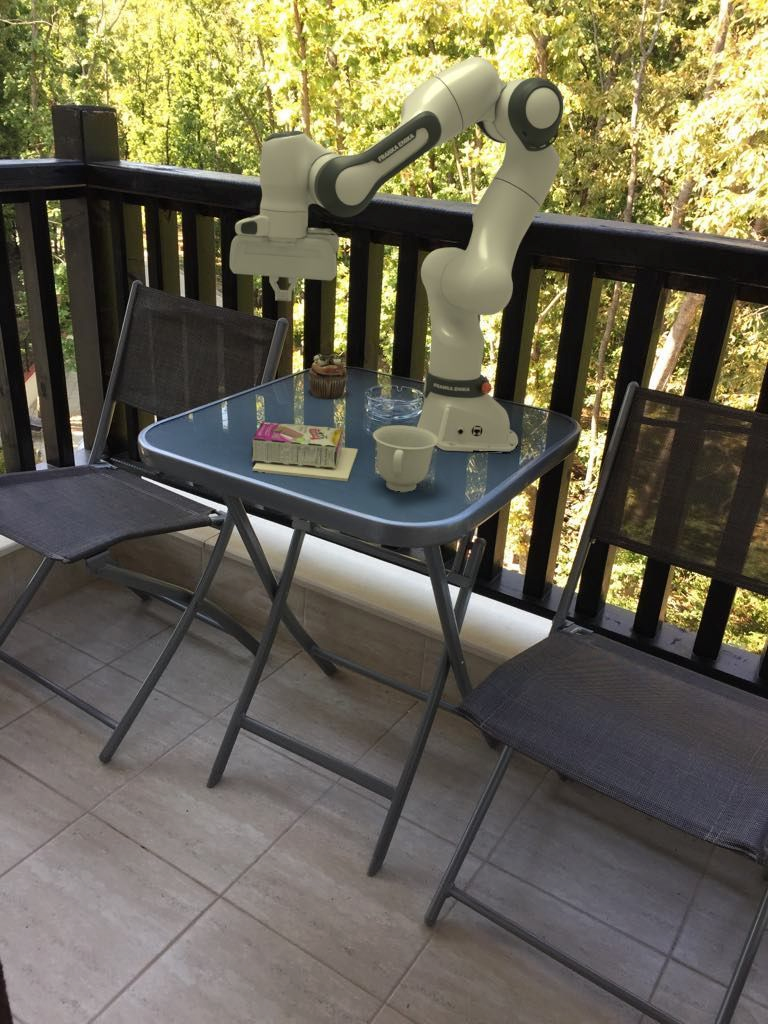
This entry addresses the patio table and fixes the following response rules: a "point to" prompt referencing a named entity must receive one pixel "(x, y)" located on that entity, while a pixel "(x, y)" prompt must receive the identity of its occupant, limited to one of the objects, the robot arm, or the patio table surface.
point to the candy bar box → (297, 445)
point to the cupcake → (327, 377)
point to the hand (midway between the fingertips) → (283, 300)
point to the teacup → (404, 455)
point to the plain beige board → (314, 468)
